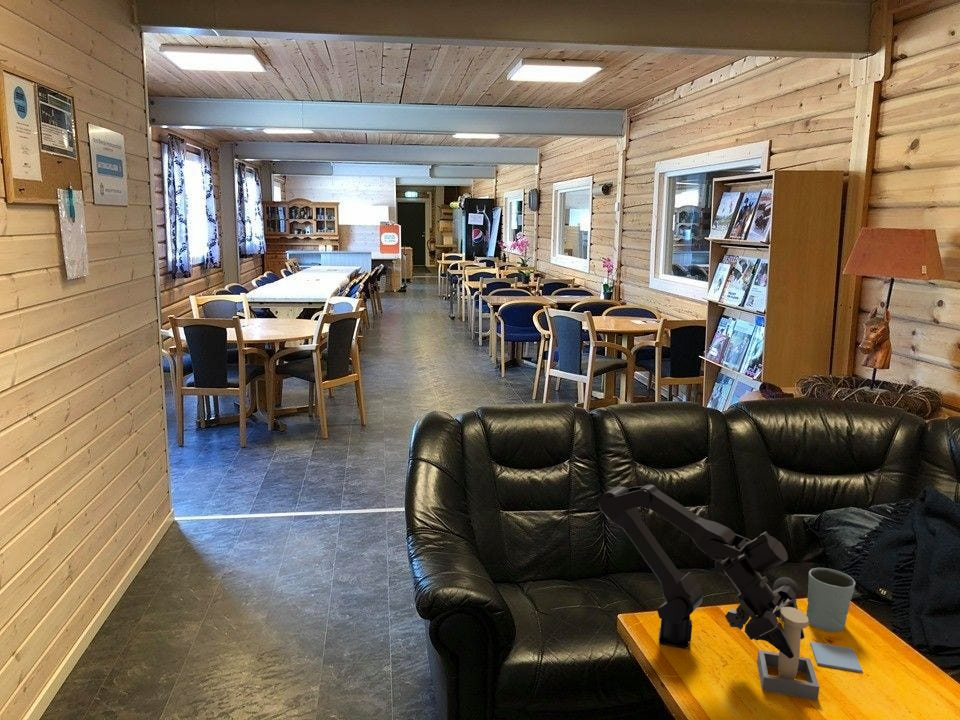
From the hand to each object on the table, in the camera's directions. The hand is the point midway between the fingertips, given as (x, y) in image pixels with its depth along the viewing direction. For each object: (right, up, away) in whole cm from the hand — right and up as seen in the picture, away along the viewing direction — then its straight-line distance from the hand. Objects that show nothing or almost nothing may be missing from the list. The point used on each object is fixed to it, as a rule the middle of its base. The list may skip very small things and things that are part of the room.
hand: (797, 647), depth 150 cm
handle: (-1, -8, +2) cm, 8 cm away
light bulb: (+9, -4, +29) cm, 31 cm away
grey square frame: (-1, -8, +2) cm, 8 cm away
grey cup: (+19, -5, +27) cm, 33 cm away
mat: (+14, -7, +12) cm, 19 cm away
